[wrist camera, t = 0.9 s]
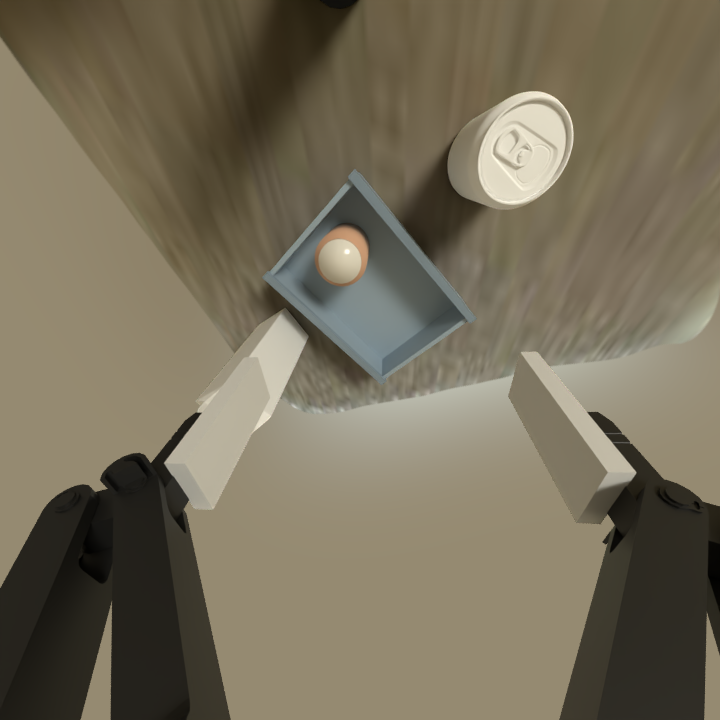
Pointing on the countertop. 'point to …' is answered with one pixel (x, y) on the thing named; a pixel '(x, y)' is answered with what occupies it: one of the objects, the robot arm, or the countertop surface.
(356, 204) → the tote
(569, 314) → the countertop surface
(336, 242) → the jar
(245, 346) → the milk
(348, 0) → the wine bottle
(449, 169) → the beverage can
